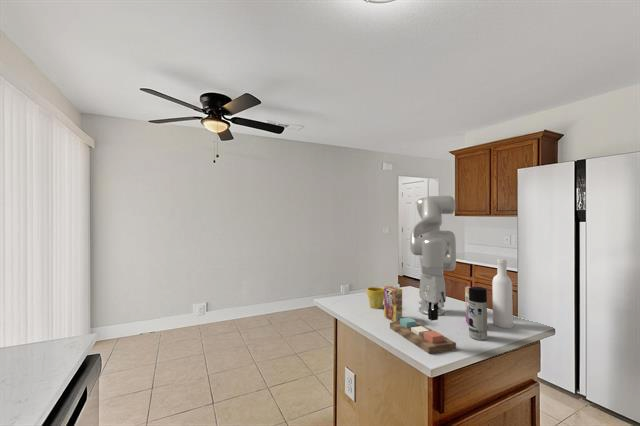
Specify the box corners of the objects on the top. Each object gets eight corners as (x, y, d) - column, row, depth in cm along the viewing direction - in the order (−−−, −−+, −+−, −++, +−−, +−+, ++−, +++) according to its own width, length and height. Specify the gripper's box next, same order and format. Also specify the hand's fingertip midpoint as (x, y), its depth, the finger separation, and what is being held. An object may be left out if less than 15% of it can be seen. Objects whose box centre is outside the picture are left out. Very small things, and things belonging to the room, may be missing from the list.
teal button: (399, 325, 127) (399, 318, 128) (409, 324, 129) (409, 317, 129) (406, 329, 123) (406, 322, 123) (416, 328, 124) (416, 321, 124)
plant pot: (388, 305, 162) (388, 288, 162) (381, 310, 153) (381, 292, 153) (371, 303, 167) (371, 286, 168) (363, 307, 159) (363, 289, 159)
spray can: (465, 334, 122) (464, 286, 122) (480, 333, 122) (480, 286, 123) (475, 340, 115) (474, 290, 116) (491, 340, 116) (490, 290, 116)
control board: (389, 328, 129) (389, 322, 129) (412, 325, 132) (412, 319, 133) (429, 353, 104) (429, 347, 104) (456, 349, 108) (455, 342, 108)
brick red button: (423, 339, 112) (423, 332, 112) (434, 338, 114) (434, 330, 114) (432, 345, 108) (432, 337, 108) (443, 343, 109) (443, 335, 109)
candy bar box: (464, 320, 138) (464, 286, 139) (476, 321, 137) (476, 286, 137) (469, 329, 128) (469, 291, 128) (482, 330, 126) (481, 292, 126)
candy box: (402, 321, 138) (402, 288, 138) (395, 322, 136) (395, 289, 136) (390, 315, 146) (390, 285, 146) (383, 316, 144) (383, 285, 144)
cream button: (411, 334, 120) (411, 327, 120) (421, 333, 121) (421, 326, 122) (418, 339, 115) (418, 331, 115) (429, 337, 117) (429, 330, 117)
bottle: (513, 329, 127) (512, 261, 128) (492, 326, 131) (491, 259, 132) (512, 324, 134) (511, 259, 134) (492, 320, 138) (491, 257, 139)
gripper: (412, 268, 117) (412, 314, 117) (438, 275, 103) (438, 327, 103) (427, 268, 120) (428, 312, 119) (455, 274, 105) (455, 325, 105)
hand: (433, 319), depth 111 cm, fingers closed
